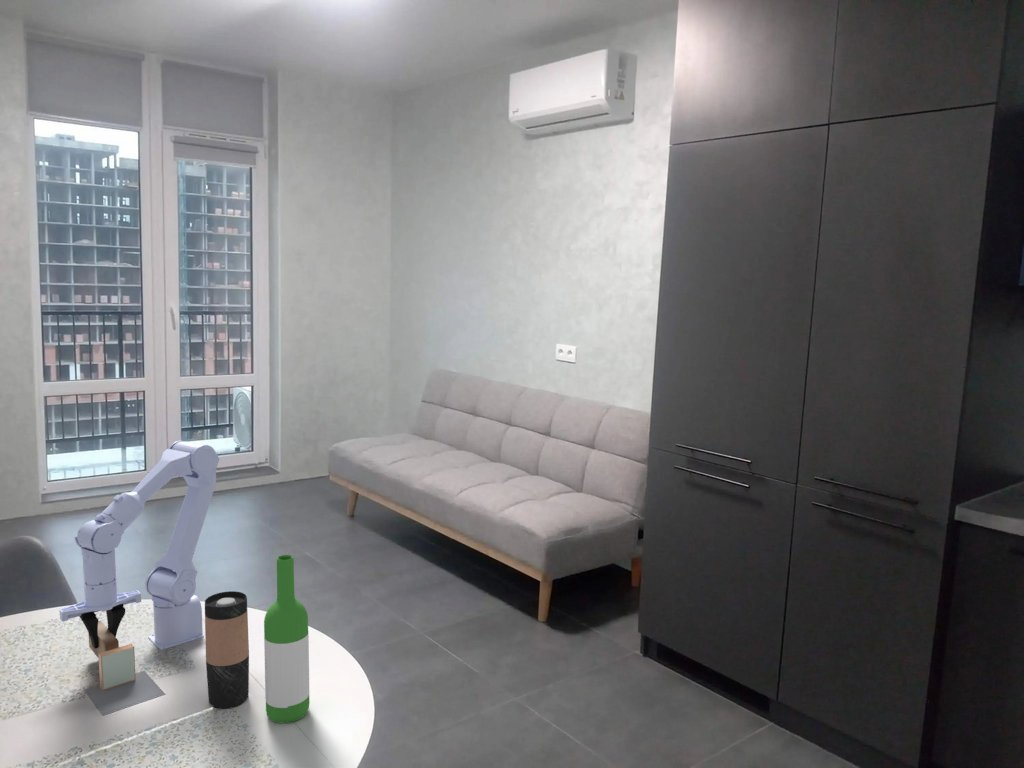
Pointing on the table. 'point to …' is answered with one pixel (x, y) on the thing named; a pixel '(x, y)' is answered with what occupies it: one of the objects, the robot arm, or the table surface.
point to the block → (117, 667)
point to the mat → (124, 694)
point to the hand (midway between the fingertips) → (103, 644)
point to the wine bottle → (286, 650)
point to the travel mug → (227, 649)
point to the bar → (104, 640)
